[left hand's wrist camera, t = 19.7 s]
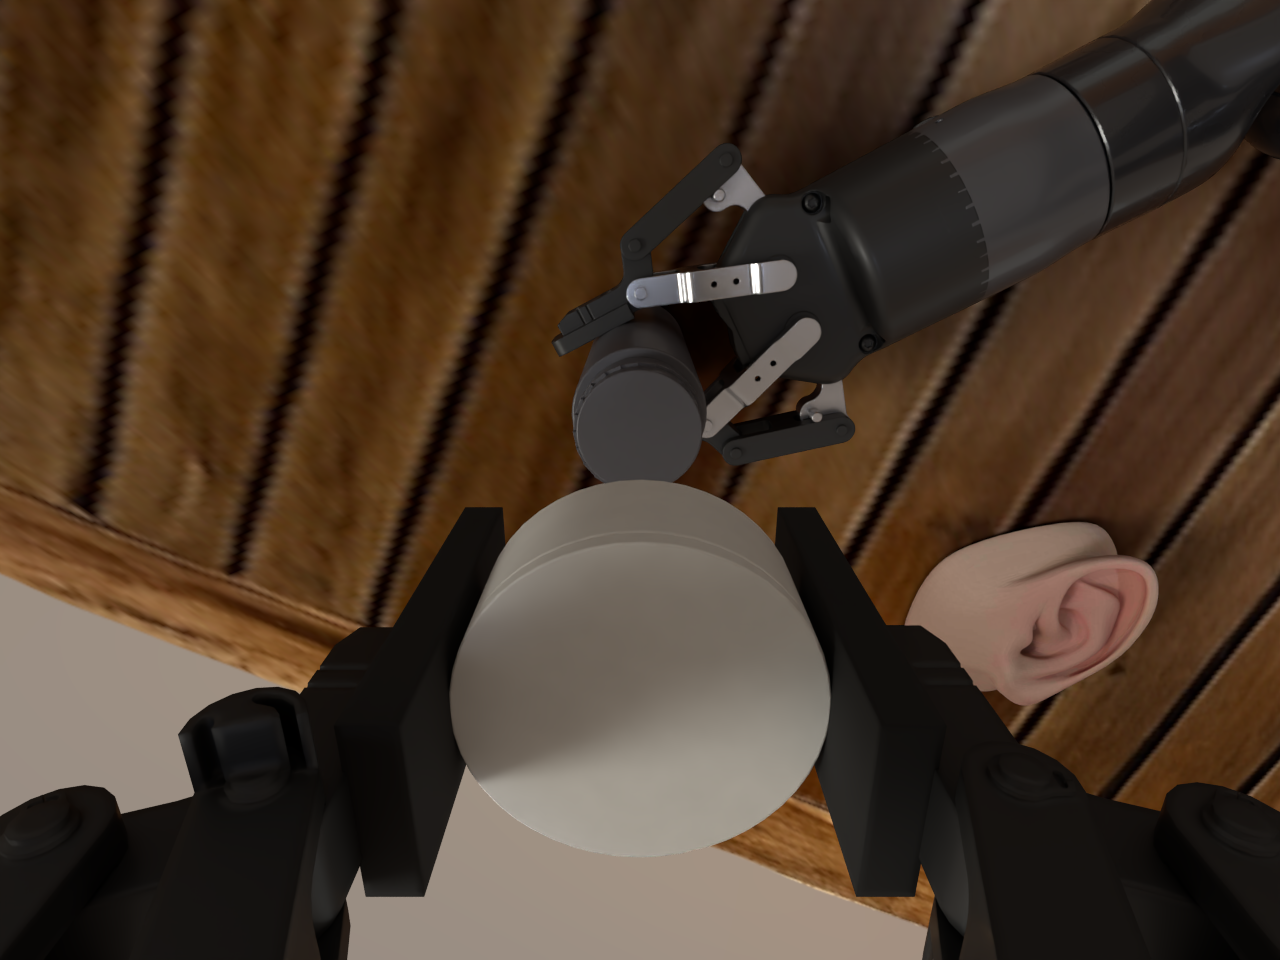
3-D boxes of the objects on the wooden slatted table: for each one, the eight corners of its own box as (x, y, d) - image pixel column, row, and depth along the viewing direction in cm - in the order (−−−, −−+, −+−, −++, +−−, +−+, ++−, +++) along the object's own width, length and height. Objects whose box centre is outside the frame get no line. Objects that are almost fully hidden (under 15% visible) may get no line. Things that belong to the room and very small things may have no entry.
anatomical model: (920, 739, 42) (928, 568, 38) (897, 696, 46) (902, 536, 42) (1147, 720, 41) (1179, 545, 37) (1105, 678, 45) (1130, 515, 41)
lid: (784, 751, 14) (812, 859, 11) (493, 749, 14) (463, 857, 11) (811, 480, 12) (853, 544, 9) (472, 476, 12) (430, 540, 9)
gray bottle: (613, 287, 37) (594, 336, 22) (697, 320, 37) (736, 391, 22) (583, 371, 38) (546, 472, 23) (664, 402, 39) (679, 520, 24)
